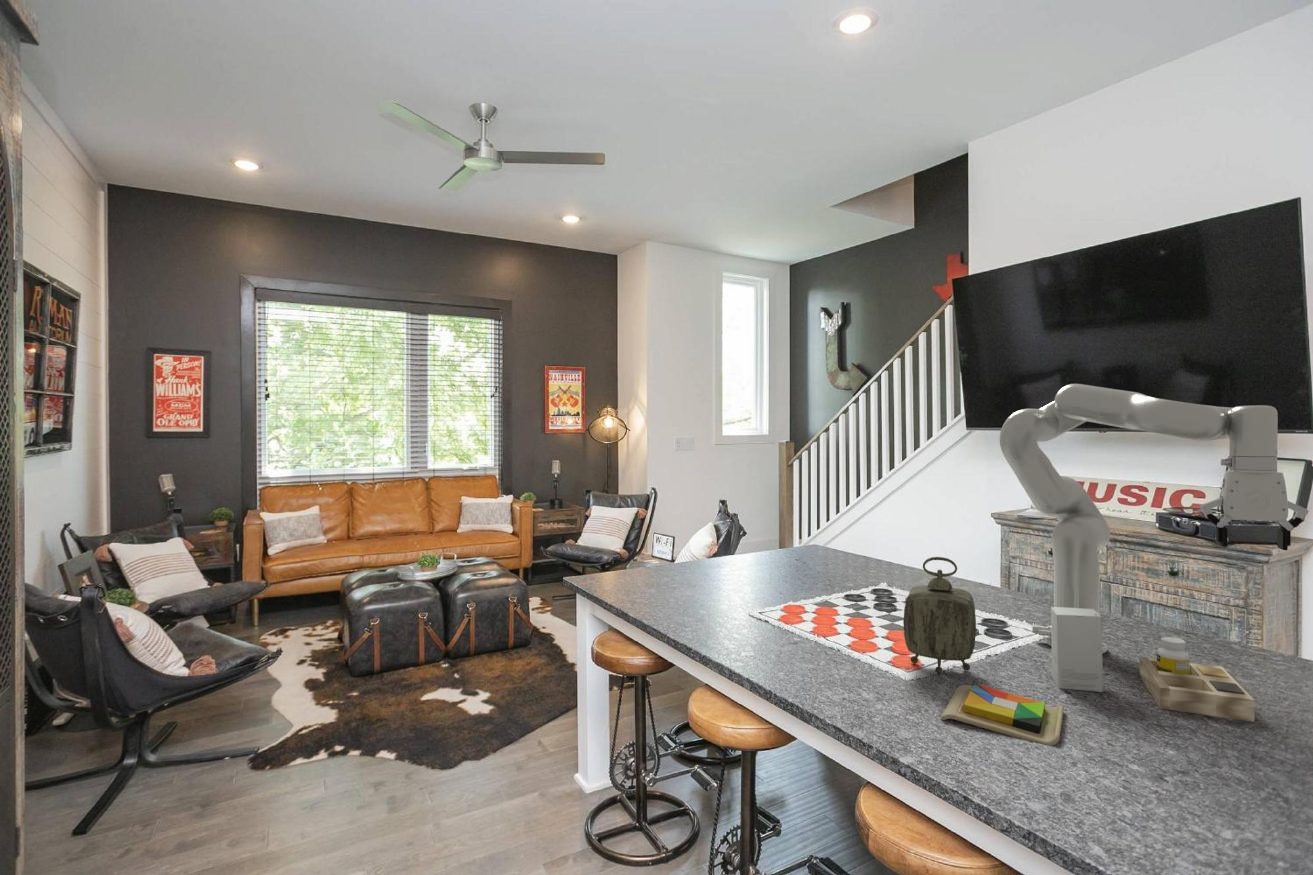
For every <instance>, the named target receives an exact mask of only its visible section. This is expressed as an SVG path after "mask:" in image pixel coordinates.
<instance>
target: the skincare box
mask: <svg viewBox="0 0 1313 875" xmlns="http://www.w3.org/2000/svg"><path fill="white" fill-rule="evenodd" d="M1050 624H1051V625H1050V626H1051V639H1052V647H1051V679H1052V680H1053V682H1054V683H1055V685H1056V687H1057V688H1058V689H1059V690H1060V689H1061V690H1075V691H1085V692H1086V691H1087V692H1095V693H1103V692H1104V684H1103V683H1104V678H1103V654H1102V643H1103V617H1102V615H1101V614H1100V615H1099V614H1098V613H1097V612H1096V611H1095V610H1094V609H1086V608H1065V607H1054V606H1051V607H1050Z"/></svg>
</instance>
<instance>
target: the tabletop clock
mask: <svg viewBox="0 0 1313 875" xmlns="http://www.w3.org/2000/svg"><path fill="white" fill-rule="evenodd" d="M933 561H942V562H943V561H945V562H947V563H950V564H951V565H953V567H954V570H953V571H952V572H948V573H943V570H941V569H937V572H933V571H930V570H929V569H927V568H926V564H928V563H929V562H933ZM922 569H923V571H924V572H925V573H927V574H929V575H931V576H935V577H932V578H931V579H930V580H929V581H928V583H927V584H926V585H923V584H922V585H916V586H913V587H911V589H910V590H909V593H908V595H907V597H906V600H905V604H904V611H903V620H902V621H903V635H904V641H905V645H906V648H907V650H908V652H910V653H912V654H914V655H913V656H911V657H910V662H911V663H912V664H917V663H918V662H919V656H920V657H924V658H929V659H933V660H937V666H936V667H935V669H934V672H935V674H937V675H942V674H944V670H943V668H942V667H941V666H942V664H941V663H942V661H957V662H958V661H959V662H961V663H962V665H961V666H962V669H963V670H964V671H969V670H970V669H971V665H970V664H969V663H968V662H966V661H965V660H971V657H972V655H973V653H974V650H975V646H976V633H977V619H976V618H977V617H976V607H975V606H976V605H975V602H974V601H975V600H974V598H973V596H972V593H971V592H969V591H967V590H964V589H962V588H957V587H952V586H953V585H952V584H951V582H950V580H948V579H947V578H946V577H951V576H953V575H955V574H956V573H957V571H958V565H957V564H956V562H954V561H953V560H951V559H950V558H946V557H944V556H943V557H942V556H933V557H930V558H927V559H925V560H924V562H923V564H922Z"/></svg>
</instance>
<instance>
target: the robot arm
mask: <svg viewBox="0 0 1313 875" xmlns="http://www.w3.org/2000/svg"><path fill="white" fill-rule="evenodd" d="M1278 420H1279V418H1278V410H1277V409H1276V407H1274V406H1272V405H1262V404H1261V405H1258V404H1257V405H1239V406H1238V405H1236V406H1234V407H1228V406H1215V405H1207V404H1198V403H1191V402H1184V401H1177V400H1171V399H1164V398H1159V397H1158V398H1157V397H1153V396H1148V395H1146V394H1144V393H1142V392H1141V393H1140V392H1136V391H1129V390H1122V389H1114V388H1108V387H1102V386H1097V385H1096V386H1095V385H1090V384H1083V383H1070V384H1066V385H1065V386H1063V387H1061V388H1060V389H1059V390H1058V391H1057V393H1056V394H1055V397H1054V401H1052V402H1050V403H1048V404H1046V405H1043V407H1040V408H1023V409H1020V410H1017V411H1015V412H1012V413H1011V415H1009V416H1008V417H1007V418H1006V420H1005V421H1004V423H1003V425H1002V427H1001V429H1000V432H999V446H1000V450H1001V452H1002V455H1003V457H1004V459H1005V460H1006V462H1007V464H1008V465H1009V466H1010V468H1011V469H1012V471H1013V472H1014V474H1015V476H1016V478H1017V479H1018V482H1019V483H1020V484H1021V486H1022V488H1023V489H1024V491H1025V493H1026V495H1027V496H1028V497H1029V499H1030V501H1031V503H1032V505H1033V506H1034V507H1035V509H1036V510H1037V511H1039V512H1040V513H1041V514H1043V515H1045V516H1052V517H1053V516H1055V518H1056V520H1058V523H1057V524H1056V525H1055V526H1054V528H1053V530H1052V533H1051V539H1050V541H1051V543H1050V544H1051V551H1052V552H1051V553H1052V559H1053V560H1052V561H1053V607H1065V608H1086V609H1094V610H1095V611H1096V612H1097V613H1098V614H1099V615H1101V614H1100V610H1101V607H1100V606H1101V604H1100V602H1101V599H1100V598H1101V595H1100V594H1101V593H1100V592H1101V589H1100V588H1101V584H1100V583H1101V581H1100V580H1101V573H1100V562H1099V554H1098V553H1099V551H1100V550H1102V549H1104V548H1105V547H1106V546H1107V545H1108V543H1109V542H1110V540H1111V529H1110V526H1109V524H1108V522H1107V521H1106V519H1105V517H1104V515H1103V514H1102V513H1101V512H1100V510H1099V508H1098V506H1096V504H1095V503H1094V501H1093V500H1092V498H1091V496H1090V495H1089V493H1088V492H1087V491H1086V489H1085V488H1084V487H1083V486H1082V484H1081V483H1079V482H1078V481H1077V480H1075V479H1074V478H1071V477H1068V476H1065V475H1064V476H1063V475H1060V473H1059V472H1058V471H1057V469H1056V468H1055V466H1054V465H1053V463H1052V462H1051V460H1050V458H1049V457H1048V456H1047V455H1046V453H1044V451H1043V450H1042V449H1041V448H1040V446H1039V444H1038V443H1039V442H1040V443H1043V442H1048V441H1051V440H1053V439H1055V438H1058V437H1059V436H1061V435H1063V434H1065V433H1067V432H1070V430H1073V429H1075V428H1077V427H1079V426H1081V425H1082V424H1084V423H1086V422H1090V423H1095V424H1100V425H1107V426H1112V427H1117V428H1122V429H1127V430H1131V431H1143V432H1148V433H1153V434H1157V435H1164V436H1170V437H1174V438H1181V439H1186V440H1190V441H1191V440H1192V441H1199V442H1201V441H1214V440H1215V441H1216V440H1223V439H1224V440H1225V439H1226V440H1227V439H1229V450H1228V451H1229V453H1228V454H1229V455H1228V456H1227V458H1225V459H1224V458H1221V459H1220V465H1221V466H1224V467H1227V468H1228V469H1229V470H1225V472H1224V475H1223V479H1222V485H1221V491H1220V497H1219V498H1215V499H1213V500H1211V501H1209V502H1205V503H1203V504H1201V505H1199V508H1200V510H1201V511H1202V513H1203V514H1204V517H1205V519H1207V520H1208V521H1209V522H1210V523H1212V524H1213V525H1214V526H1215V541H1216V542H1217V543H1218V545H1219V546H1221V547H1224V548H1227V547H1228V542H1229V541H1228V538H1229V537H1228V536H1229V535H1228V532H1229V531H1228V528H1227V527H1226V525H1228V524H1229V522H1231V521H1232V520H1237V521H1238V520H1239V521H1258V522H1259V521H1260V522H1274V523H1276V524H1277V525H1278V526H1279V528H1278V529H1277V530H1276V531H1277V540H1276V542H1277V543H1276V544H1277V545H1276V546H1277V549H1280V550H1282V551H1288V547H1290V546H1291V544H1292V542H1291V537H1292V536H1291V533H1292V531H1293V530H1294V528H1296V527H1297V526H1299V525H1301V524H1302V522H1303V520H1304V519H1305V518H1306V516H1307V515H1308V514H1309V510H1308V508H1305V507H1303V506H1302V505H1298V504H1295V503H1294V502H1291V501H1289V500H1288V493H1287V492H1288V491H1287V486H1286V480H1285V476H1284V473H1283V472H1279V471H1278V436H1279V435H1278V429H1279V428H1278V422H1279V421H1278ZM1216 507H1219V511H1220V515H1219V516H1218V517H1217V516H1216V515H1214V514H1213V512H1212V509H1215V508H1216ZM1289 510H1291V511H1294V512H1295V514H1294V515H1293V517H1291V518H1290V519H1288V518H1289ZM1287 519H1288V520H1287ZM1031 631H1032V634H1038V636H1043V637H1044V636H1046V639H1045V640H1046V642H1045V643H1046V645H1048V646H1050V647H1051V648H1052V639H1051V625H1046V626H1043V625H1042V626H1041V625H1036V624H1032V630H1031ZM1107 652H1108V645H1107V644H1105V643H1104V642H1102V655H1104V654H1105V653H1107Z"/></svg>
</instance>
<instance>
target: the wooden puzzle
mask: <svg viewBox="0 0 1313 875" xmlns="http://www.w3.org/2000/svg"><path fill="white" fill-rule="evenodd" d="M1063 716H1064V705H1061V704H1060V705H1058V706H1054V707H1052V706H1048V705H1046V701H1040V700H1035V699H1032V698H1029V697H1025V696H1022V695H1021V696H1020V695H1018V694H1013V693H1010V692H1009V693H1008V692H1006V691H1002V690H999V689H997V688H994V687H989V686H986V685H982V684H979V683H976V684H973V686H972V685H968V684H962V685H959V686H958V687H957V688H956V690H955V691H954V693H953V694H952V697H951V699H950V700H949V702H948V703H947V705H946V707H945V709H944V711H943V713H942V714H941V716H940V720H941V721H946V720H955V721H959V722H962V723H964V724H968V725H972V726H975V727H979V728H982V729H986V730H989V731H993V732H997V733H999V734H1003V735H1006V736H1009V737H1013V738H1016V739H1022V740H1026V741H1029V742H1033V743H1038V744H1042V745H1047V746H1055V745H1056V744H1057V743H1058V742H1059V741H1060V739H1061V731H1062V723H1063Z"/></svg>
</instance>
